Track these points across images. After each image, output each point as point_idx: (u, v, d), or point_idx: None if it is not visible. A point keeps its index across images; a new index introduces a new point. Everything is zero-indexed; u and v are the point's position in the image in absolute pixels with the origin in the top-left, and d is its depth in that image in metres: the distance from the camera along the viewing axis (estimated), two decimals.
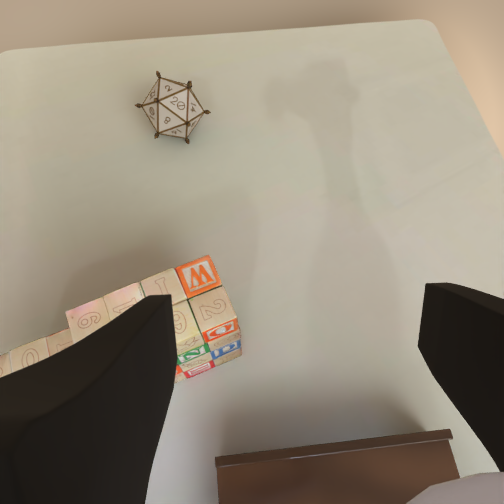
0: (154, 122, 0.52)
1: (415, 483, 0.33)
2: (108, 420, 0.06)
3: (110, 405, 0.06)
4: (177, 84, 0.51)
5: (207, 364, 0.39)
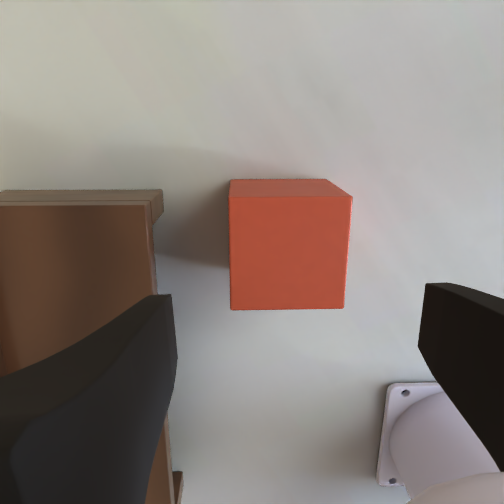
0: None
1: (55, 289, 0.18)
2: (108, 420, 0.06)
3: (110, 405, 0.06)
4: None
5: None
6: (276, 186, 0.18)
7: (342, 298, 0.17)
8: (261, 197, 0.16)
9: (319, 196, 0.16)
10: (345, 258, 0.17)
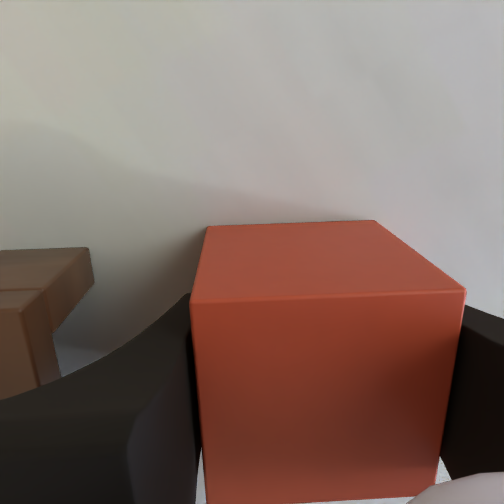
0: None
1: None
2: (175, 416, 0.06)
3: (176, 402, 0.06)
4: None
5: None
6: (291, 249, 0.09)
7: (432, 479, 0.09)
8: (263, 298, 0.07)
9: (392, 290, 0.07)
10: (443, 408, 0.08)
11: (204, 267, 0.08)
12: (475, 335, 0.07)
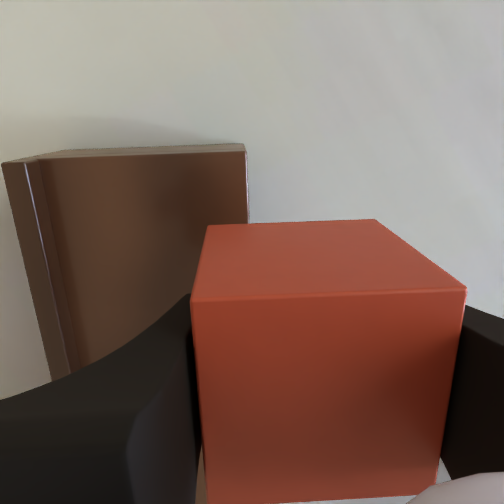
0: None
1: (136, 258, 0.15)
2: (175, 416, 0.06)
3: (176, 402, 0.06)
4: None
5: None
6: (291, 248, 0.09)
7: (433, 478, 0.09)
8: (264, 296, 0.07)
9: (393, 288, 0.07)
10: (444, 407, 0.08)
11: (204, 266, 0.08)
12: (475, 335, 0.07)
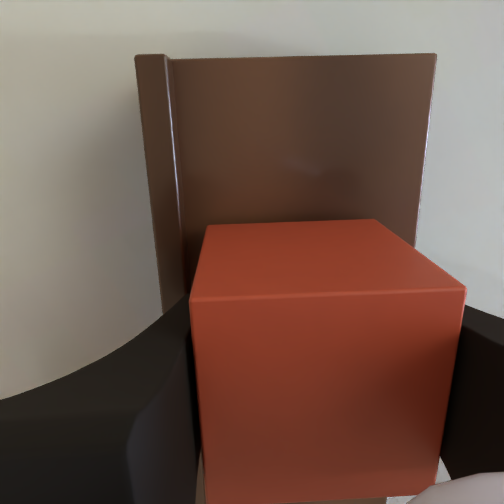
0: None
1: (280, 196, 0.12)
2: (175, 416, 0.06)
3: (176, 402, 0.06)
4: None
5: None
6: (291, 248, 0.09)
7: (432, 478, 0.09)
8: (263, 296, 0.07)
9: (392, 288, 0.07)
10: (444, 407, 0.08)
11: (204, 266, 0.08)
12: (475, 335, 0.07)
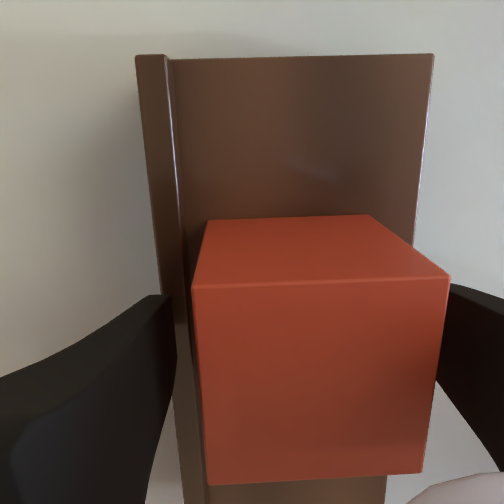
0: None
1: (279, 195, 0.12)
2: (108, 420, 0.06)
3: (110, 405, 0.06)
4: None
5: None
6: (287, 240, 0.10)
7: (420, 457, 0.09)
8: (260, 283, 0.08)
9: (381, 276, 0.08)
10: (430, 389, 0.08)
11: (205, 257, 0.09)
12: None
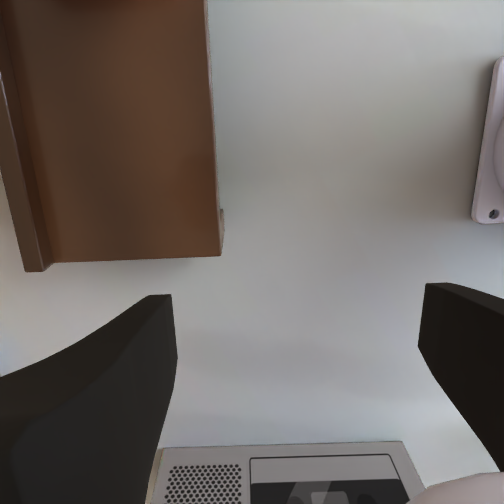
0: None
1: None
2: (108, 420, 0.06)
3: (110, 405, 0.06)
4: None
5: None
6: None
7: None
8: None
9: None
10: None
11: None
12: None
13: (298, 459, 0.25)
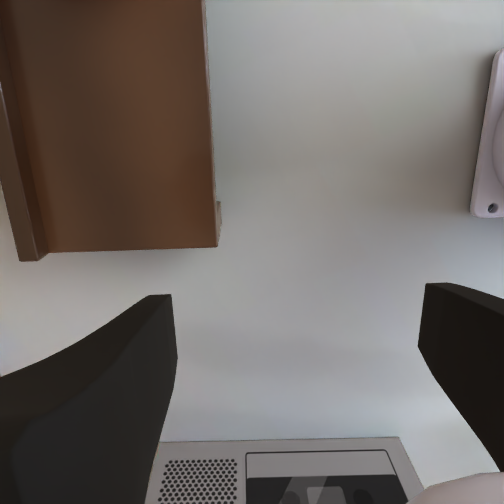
0: None
1: None
2: (108, 420, 0.06)
3: (110, 405, 0.06)
4: None
5: None
6: None
7: None
8: None
9: None
10: None
11: None
12: None
13: (294, 454, 0.25)
